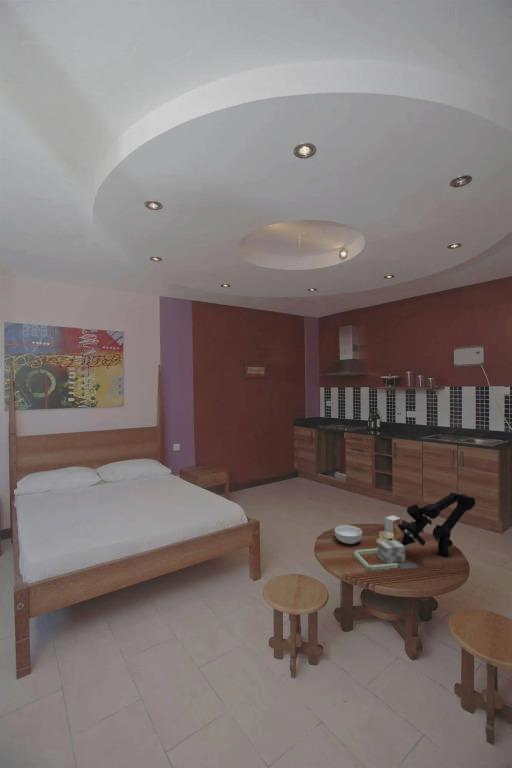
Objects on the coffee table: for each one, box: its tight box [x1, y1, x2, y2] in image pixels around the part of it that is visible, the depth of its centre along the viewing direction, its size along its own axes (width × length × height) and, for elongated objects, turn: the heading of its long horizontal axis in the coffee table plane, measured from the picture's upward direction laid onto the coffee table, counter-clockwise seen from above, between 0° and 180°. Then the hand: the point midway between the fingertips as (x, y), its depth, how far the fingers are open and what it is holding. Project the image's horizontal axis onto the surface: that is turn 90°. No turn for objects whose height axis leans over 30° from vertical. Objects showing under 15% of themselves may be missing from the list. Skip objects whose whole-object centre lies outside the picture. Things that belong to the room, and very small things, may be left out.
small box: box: [384, 514, 402, 540], centre depth 228 cm, size 8×6×13 cm
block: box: [377, 539, 406, 564], centre depth 201 cm, size 12×8×8 cm, turn 100°
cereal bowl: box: [334, 524, 363, 545], centre depth 224 cm, size 17×17×7 cm
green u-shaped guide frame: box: [352, 547, 420, 572], centre depth 200 cm, size 28×23×2 cm
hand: (401, 545), depth 202 cm, fingers closed
